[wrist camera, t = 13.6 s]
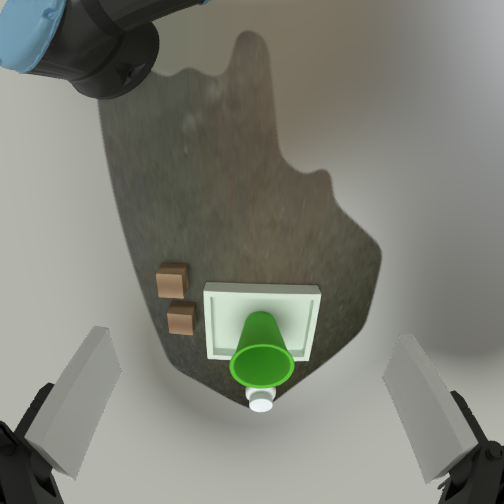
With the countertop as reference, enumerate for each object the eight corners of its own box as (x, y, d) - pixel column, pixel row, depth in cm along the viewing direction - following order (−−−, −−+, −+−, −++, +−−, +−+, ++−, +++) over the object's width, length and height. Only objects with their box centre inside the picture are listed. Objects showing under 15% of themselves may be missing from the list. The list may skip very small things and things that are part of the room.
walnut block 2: (172, 300, 47) (167, 313, 44) (195, 302, 48) (191, 315, 44) (174, 319, 49) (169, 332, 45) (196, 321, 49) (192, 335, 45)
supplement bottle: (276, 359, 52) (280, 398, 43) (270, 378, 54) (273, 415, 45) (248, 356, 52) (247, 395, 43) (244, 375, 54) (243, 413, 45)
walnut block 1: (163, 262, 45) (155, 273, 41) (187, 263, 45) (181, 274, 41) (165, 284, 46) (158, 296, 43) (188, 286, 46) (183, 298, 43)
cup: (254, 350, 50) (255, 396, 40) (222, 318, 47) (215, 363, 37) (297, 326, 48) (306, 371, 38) (266, 290, 45) (270, 333, 35)
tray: (206, 281, 46) (203, 291, 43) (317, 285, 46) (321, 294, 43) (209, 347, 51) (207, 358, 48) (306, 350, 51) (308, 360, 49)
